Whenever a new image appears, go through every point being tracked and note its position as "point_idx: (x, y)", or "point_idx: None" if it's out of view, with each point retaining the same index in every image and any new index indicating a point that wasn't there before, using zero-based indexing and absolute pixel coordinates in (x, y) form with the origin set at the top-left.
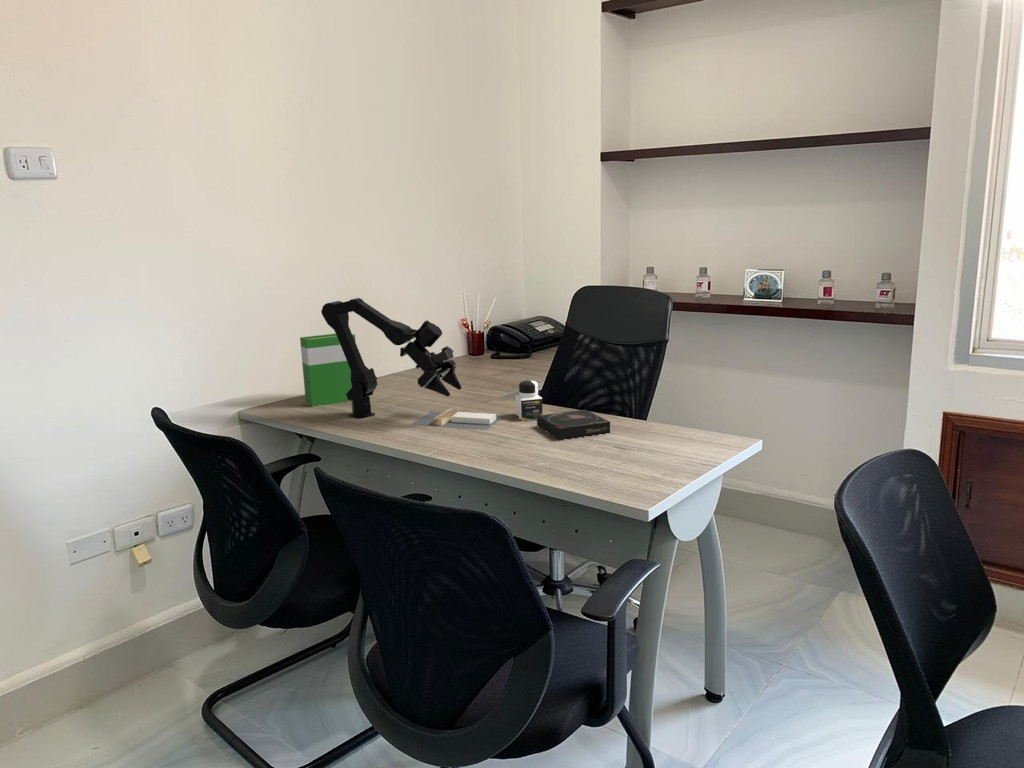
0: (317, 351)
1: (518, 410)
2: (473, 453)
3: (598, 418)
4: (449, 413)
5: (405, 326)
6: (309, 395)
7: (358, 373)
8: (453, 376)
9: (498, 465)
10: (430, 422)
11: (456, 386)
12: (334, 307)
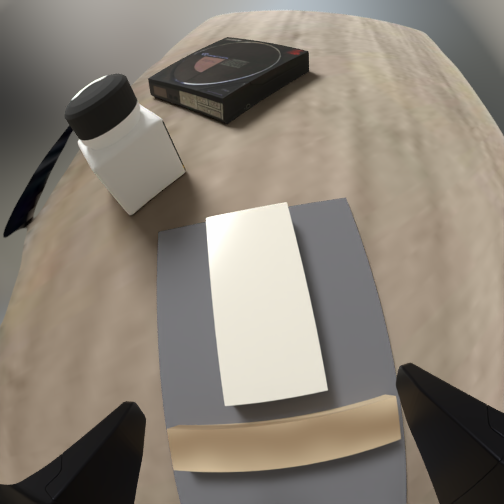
0: None
1: (148, 176)
2: (481, 157)
3: (210, 47)
4: (273, 432)
5: None
6: None
7: None
8: (69, 495)
9: (473, 110)
10: (356, 470)
11: (134, 447)
12: None
